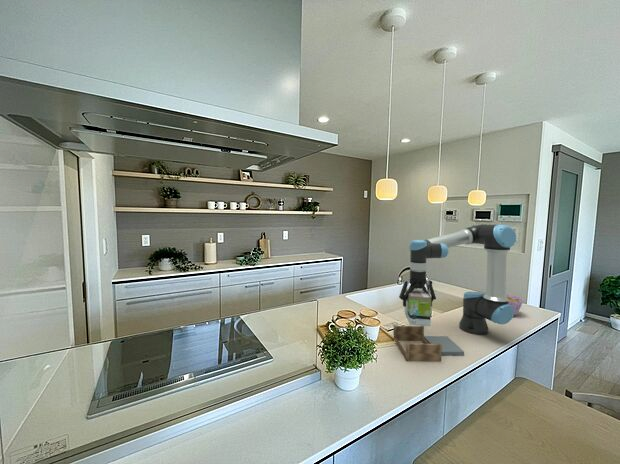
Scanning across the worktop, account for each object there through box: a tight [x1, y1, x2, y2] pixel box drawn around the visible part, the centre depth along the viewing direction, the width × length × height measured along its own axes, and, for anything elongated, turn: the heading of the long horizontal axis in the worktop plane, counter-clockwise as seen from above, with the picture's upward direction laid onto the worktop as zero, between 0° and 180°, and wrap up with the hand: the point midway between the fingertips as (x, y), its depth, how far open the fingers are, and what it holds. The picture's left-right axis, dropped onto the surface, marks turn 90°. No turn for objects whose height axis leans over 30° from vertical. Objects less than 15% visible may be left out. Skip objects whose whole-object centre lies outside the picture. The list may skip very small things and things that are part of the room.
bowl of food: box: [505, 293, 524, 315], centre depth 185 cm, size 20×20×12 cm
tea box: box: [404, 288, 432, 327], centre depth 133 cm, size 15×10×15 cm
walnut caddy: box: [392, 324, 442, 362], centre depth 134 cm, size 17×22×8 cm
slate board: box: [424, 335, 465, 357], centre depth 137 cm, size 13×17×2 cm
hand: (417, 312), depth 134 cm, fingers closed on tea box, 11 cm apart
